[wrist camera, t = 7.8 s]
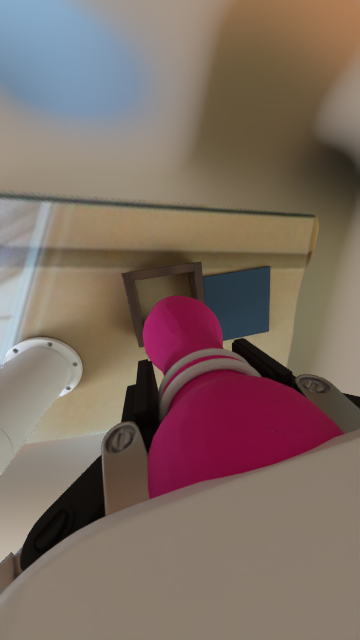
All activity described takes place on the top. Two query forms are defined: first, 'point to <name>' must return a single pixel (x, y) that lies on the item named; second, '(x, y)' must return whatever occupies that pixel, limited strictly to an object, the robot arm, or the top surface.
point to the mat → (239, 301)
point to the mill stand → (130, 277)
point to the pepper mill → (218, 404)
